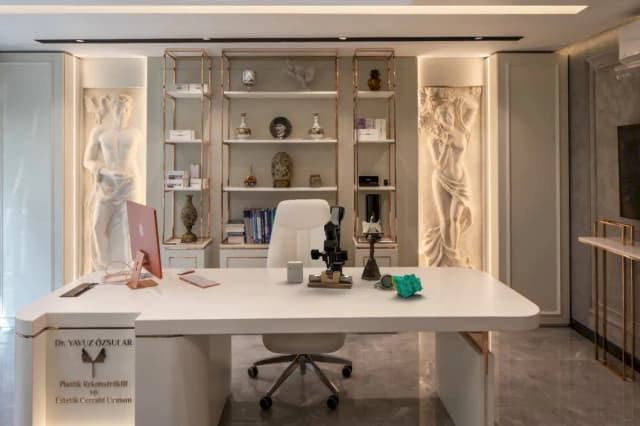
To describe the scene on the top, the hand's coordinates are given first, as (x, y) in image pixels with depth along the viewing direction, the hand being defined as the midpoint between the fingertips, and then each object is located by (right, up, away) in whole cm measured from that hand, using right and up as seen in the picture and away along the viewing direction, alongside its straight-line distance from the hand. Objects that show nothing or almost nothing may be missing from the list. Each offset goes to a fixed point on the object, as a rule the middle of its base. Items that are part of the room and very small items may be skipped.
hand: (327, 268), depth 242 cm
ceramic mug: (+29, -10, +6) cm, 31 cm away
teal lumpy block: (+37, -12, -11) cm, 40 cm away
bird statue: (+25, -9, +27) cm, 38 cm away
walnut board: (+2, -10, +11) cm, 15 cm away
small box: (-17, -9, +20) cm, 28 cm away
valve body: (+2, -8, +11) cm, 14 cm away
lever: (+2, -6, +11) cm, 12 cm away
